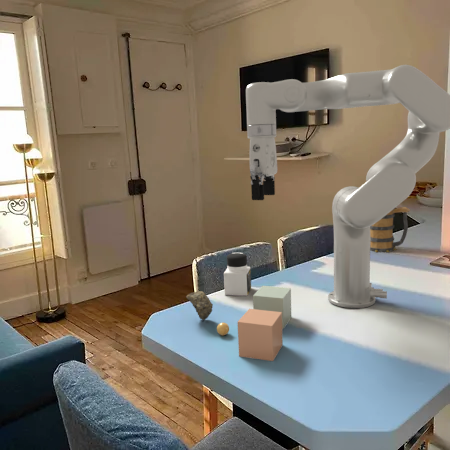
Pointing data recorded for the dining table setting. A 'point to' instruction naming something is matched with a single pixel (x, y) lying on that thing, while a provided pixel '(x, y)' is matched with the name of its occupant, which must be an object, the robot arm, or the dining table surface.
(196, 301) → the rock
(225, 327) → the marble amber
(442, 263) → the dining table surface
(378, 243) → the mug
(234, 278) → the medicine bottle
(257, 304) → the sage green cube
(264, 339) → the salmon pink box
